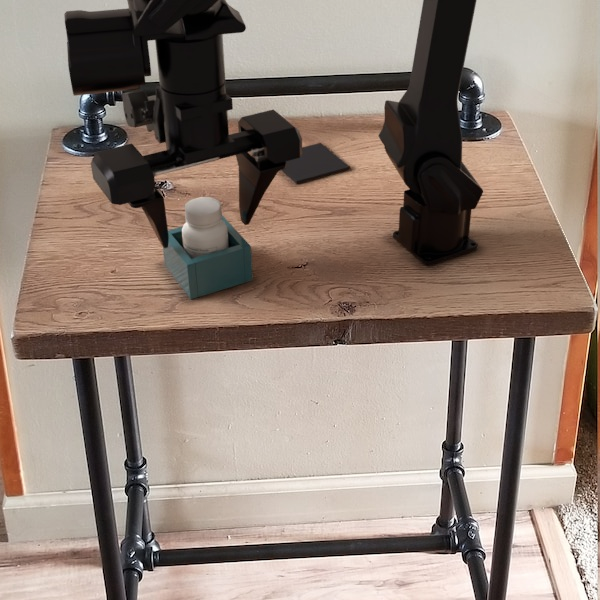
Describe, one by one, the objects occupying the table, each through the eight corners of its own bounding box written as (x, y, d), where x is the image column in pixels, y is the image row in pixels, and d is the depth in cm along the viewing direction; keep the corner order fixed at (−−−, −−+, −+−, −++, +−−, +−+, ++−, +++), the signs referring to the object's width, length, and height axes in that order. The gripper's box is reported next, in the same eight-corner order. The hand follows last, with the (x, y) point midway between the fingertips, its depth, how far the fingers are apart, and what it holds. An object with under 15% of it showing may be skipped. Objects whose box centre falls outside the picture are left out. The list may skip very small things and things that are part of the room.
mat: (320, 145, 119) (320, 142, 119) (349, 169, 114) (349, 166, 114) (268, 159, 116) (268, 156, 116) (296, 184, 111) (296, 181, 111)
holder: (224, 248, 101) (222, 214, 98) (252, 280, 96) (251, 246, 94) (164, 266, 98) (160, 232, 96) (190, 299, 94) (187, 265, 91)
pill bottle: (204, 256, 100) (199, 189, 95) (239, 269, 98) (235, 201, 93) (176, 276, 97) (169, 209, 92) (211, 291, 95) (206, 222, 90)
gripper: (249, 32, 95) (255, 175, 104) (60, 71, 88) (85, 221, 97) (304, 72, 87) (305, 223, 96) (101, 118, 80) (124, 277, 89)
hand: (205, 234), depth 95 cm, fingers open, 8 cm apart
